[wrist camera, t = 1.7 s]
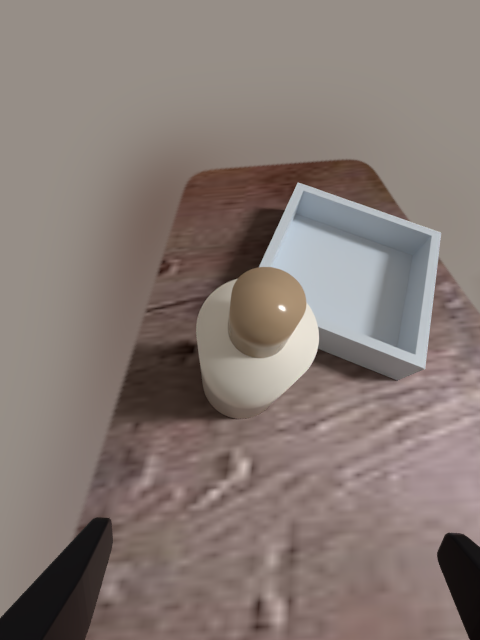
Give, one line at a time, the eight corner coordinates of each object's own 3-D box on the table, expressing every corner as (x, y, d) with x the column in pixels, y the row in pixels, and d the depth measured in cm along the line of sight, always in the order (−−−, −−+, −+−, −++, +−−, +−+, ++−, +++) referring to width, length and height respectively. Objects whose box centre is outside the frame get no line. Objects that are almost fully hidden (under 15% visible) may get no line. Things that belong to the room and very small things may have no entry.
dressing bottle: (263, 431, 22) (322, 399, 10) (189, 399, 22) (163, 333, 11) (287, 360, 24) (357, 268, 13) (220, 333, 25) (228, 220, 13)
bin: (397, 380, 24) (424, 368, 21) (240, 317, 26) (244, 297, 23) (417, 256, 30) (441, 232, 27) (289, 210, 32) (297, 182, 28)
